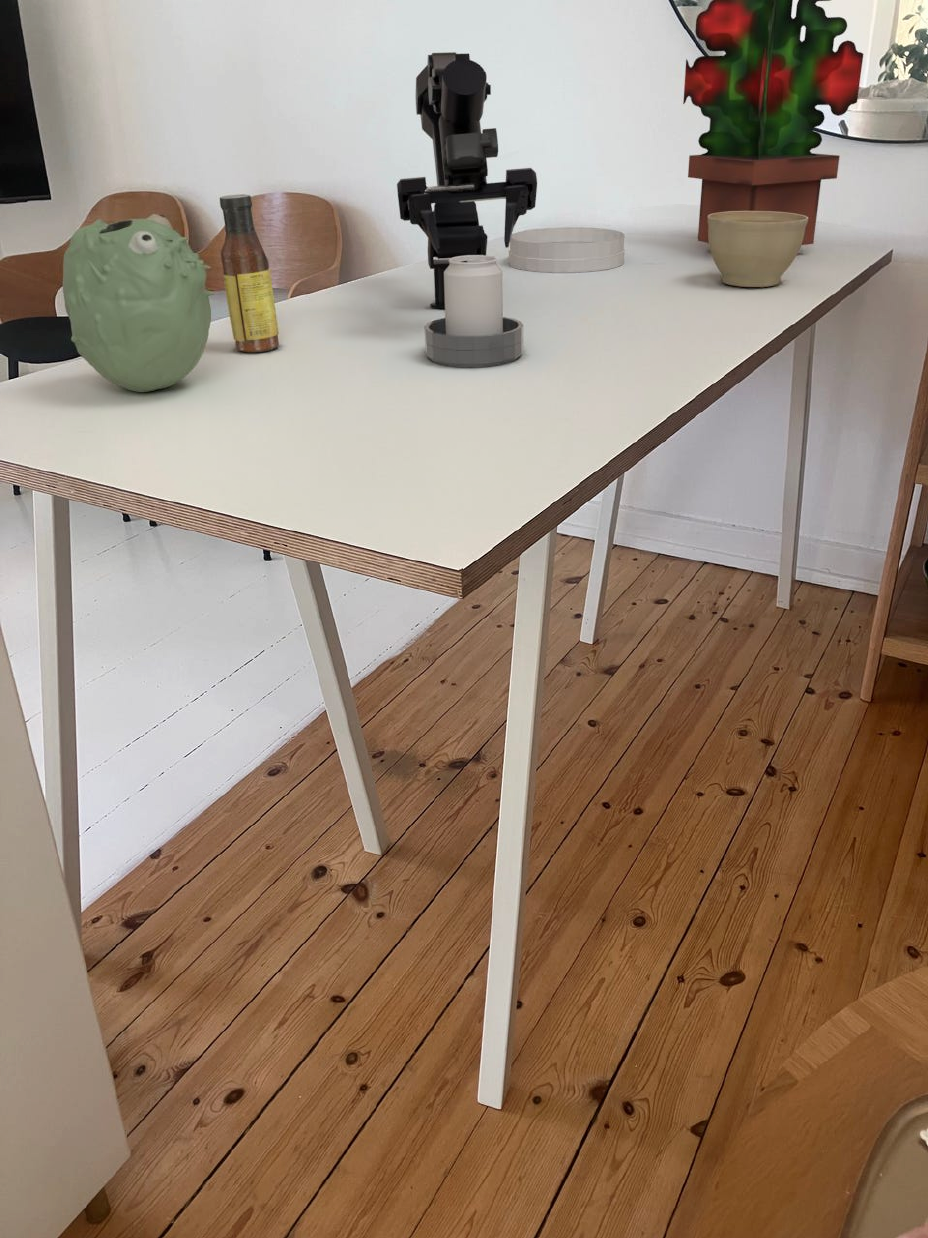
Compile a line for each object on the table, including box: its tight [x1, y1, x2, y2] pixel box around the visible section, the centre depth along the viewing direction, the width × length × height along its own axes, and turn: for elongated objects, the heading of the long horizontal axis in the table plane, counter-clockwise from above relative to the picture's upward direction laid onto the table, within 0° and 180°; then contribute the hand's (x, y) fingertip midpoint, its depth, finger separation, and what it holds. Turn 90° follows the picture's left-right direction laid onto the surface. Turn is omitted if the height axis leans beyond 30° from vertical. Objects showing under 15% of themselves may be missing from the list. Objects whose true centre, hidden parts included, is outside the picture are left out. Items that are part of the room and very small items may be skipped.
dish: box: [508, 226, 626, 274], centre depth 203 cm, size 22×22×5 cm
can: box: [444, 254, 504, 336], centre depth 137 cm, size 8×8×12 cm
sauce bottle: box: [219, 193, 280, 353], centre depth 142 cm, size 7×6×20 cm
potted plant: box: [682, 0, 864, 246], centre depth 198 cm, size 22×22×45 cm
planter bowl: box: [708, 211, 808, 288], centre depth 178 cm, size 16×16×11 cm
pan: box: [423, 316, 524, 368], centre depth 139 cm, size 13×13×4 cm
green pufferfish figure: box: [62, 213, 215, 393], centre depth 125 cm, size 16×19×20 cm
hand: (472, 248), depth 142 cm, fingers open, 9 cm apart
